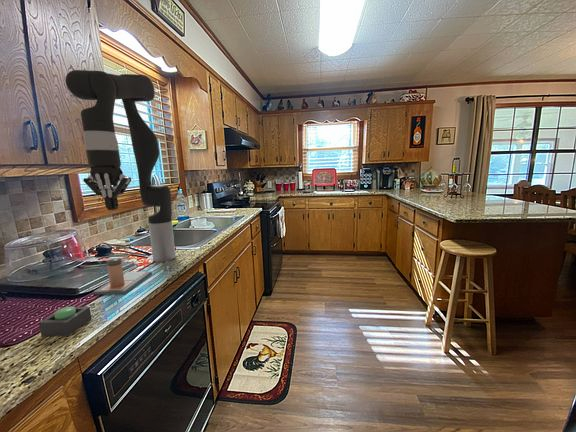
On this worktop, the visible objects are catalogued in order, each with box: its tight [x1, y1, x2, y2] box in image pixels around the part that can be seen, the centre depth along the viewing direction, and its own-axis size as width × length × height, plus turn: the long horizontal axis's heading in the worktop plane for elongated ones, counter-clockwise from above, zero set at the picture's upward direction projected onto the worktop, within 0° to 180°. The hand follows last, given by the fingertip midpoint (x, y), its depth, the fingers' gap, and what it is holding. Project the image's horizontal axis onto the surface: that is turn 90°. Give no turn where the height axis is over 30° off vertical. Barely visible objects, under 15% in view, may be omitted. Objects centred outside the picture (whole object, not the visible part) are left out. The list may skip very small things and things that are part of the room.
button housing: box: [38, 306, 92, 337], centre depth 63 cm, size 7×7×4 cm
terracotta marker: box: [106, 257, 125, 288], centre depth 83 cm, size 4×4×9 cm
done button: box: [53, 306, 76, 320], centre depth 62 cm, size 4×4×2 cm
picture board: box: [93, 270, 153, 295], centre depth 87 cm, size 16×10×1 cm, turn 0°
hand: (112, 209), depth 73 cm, fingers closed
